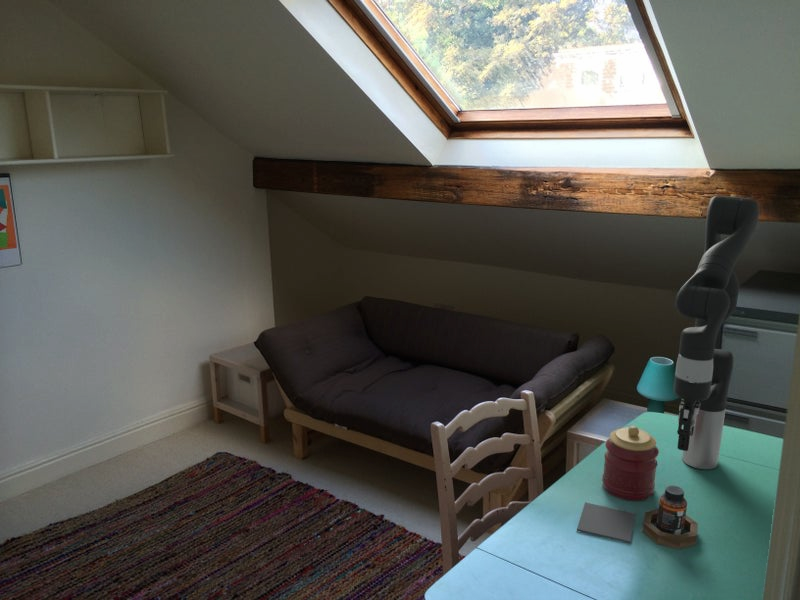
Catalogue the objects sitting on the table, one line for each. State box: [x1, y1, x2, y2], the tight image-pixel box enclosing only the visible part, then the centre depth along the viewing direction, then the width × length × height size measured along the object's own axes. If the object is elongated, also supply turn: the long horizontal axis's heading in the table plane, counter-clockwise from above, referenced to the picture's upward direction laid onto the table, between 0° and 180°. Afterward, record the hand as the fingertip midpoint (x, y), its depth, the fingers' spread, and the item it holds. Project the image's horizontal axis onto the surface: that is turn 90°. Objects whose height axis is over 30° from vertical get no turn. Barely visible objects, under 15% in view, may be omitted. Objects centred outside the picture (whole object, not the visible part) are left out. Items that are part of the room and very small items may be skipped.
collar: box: [642, 507, 699, 550], centre depth 162 cm, size 12×12×2 cm
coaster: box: [576, 501, 636, 544], centre depth 165 cm, size 12×12×1 cm
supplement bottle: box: [655, 485, 688, 535], centre depth 160 cm, size 6×6×11 cm
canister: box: [601, 425, 660, 502], centre depth 178 cm, size 13×13×18 cm
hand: (685, 442), depth 157 cm, fingers open, 8 cm apart
